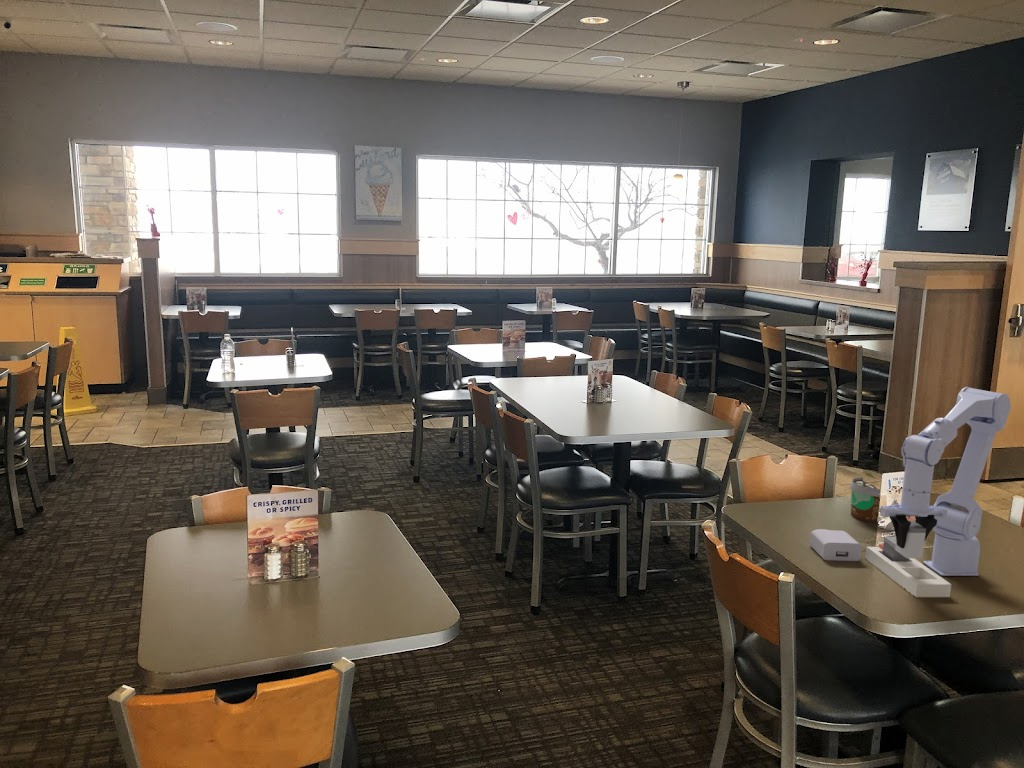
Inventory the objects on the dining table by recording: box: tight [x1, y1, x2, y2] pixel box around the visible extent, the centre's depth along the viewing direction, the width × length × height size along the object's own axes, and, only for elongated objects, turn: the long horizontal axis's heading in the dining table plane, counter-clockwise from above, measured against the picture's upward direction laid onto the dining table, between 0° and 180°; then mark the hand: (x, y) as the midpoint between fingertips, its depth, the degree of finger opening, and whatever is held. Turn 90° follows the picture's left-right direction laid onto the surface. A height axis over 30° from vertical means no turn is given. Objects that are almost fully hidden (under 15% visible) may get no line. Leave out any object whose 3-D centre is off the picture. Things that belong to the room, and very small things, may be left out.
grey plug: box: [895, 520, 926, 559], centre depth 187 cm, size 4×5×7 cm
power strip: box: [864, 543, 952, 598], centre depth 194 cm, size 8×22×4 cm, turn 5°
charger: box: [809, 528, 862, 562], centre depth 209 cm, size 5×9×15 cm
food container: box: [849, 476, 881, 524], centre depth 234 cm, size 12×6×10 cm, turn 6°
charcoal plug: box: [882, 536, 908, 562], centre depth 198 cm, size 4×5×7 cm
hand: (909, 546), depth 187 cm, fingers closed on grey plug, 4 cm apart
